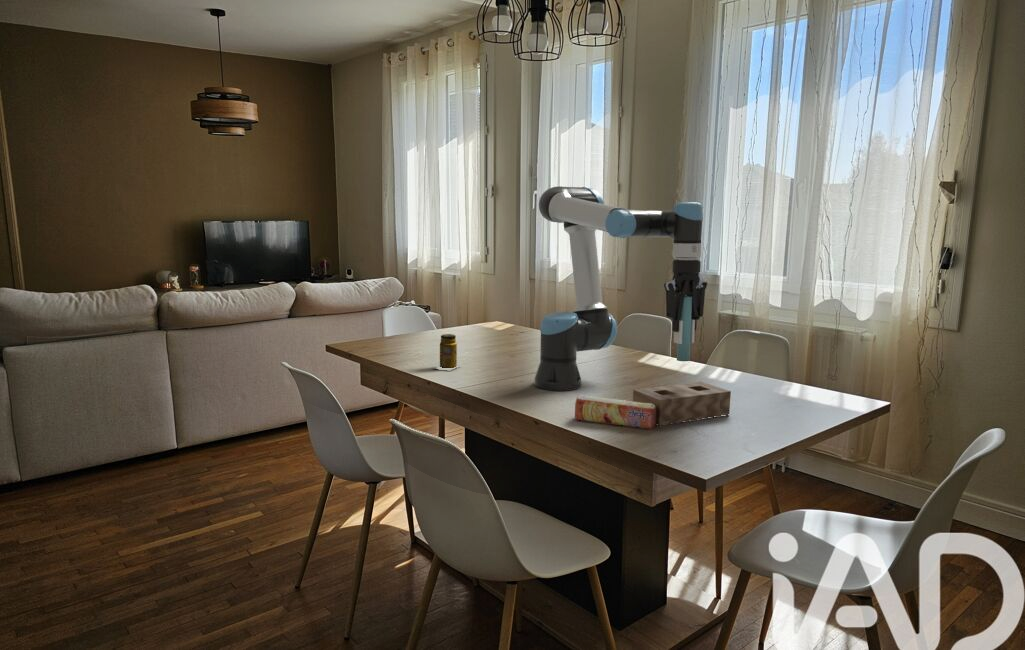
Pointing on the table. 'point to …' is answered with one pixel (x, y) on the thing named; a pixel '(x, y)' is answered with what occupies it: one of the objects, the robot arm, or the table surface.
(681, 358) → the peg
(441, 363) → the condiment
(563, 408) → the table surface
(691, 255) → the robot arm
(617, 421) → the snack package
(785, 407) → the table surface
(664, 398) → the hole block
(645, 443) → the table surface
